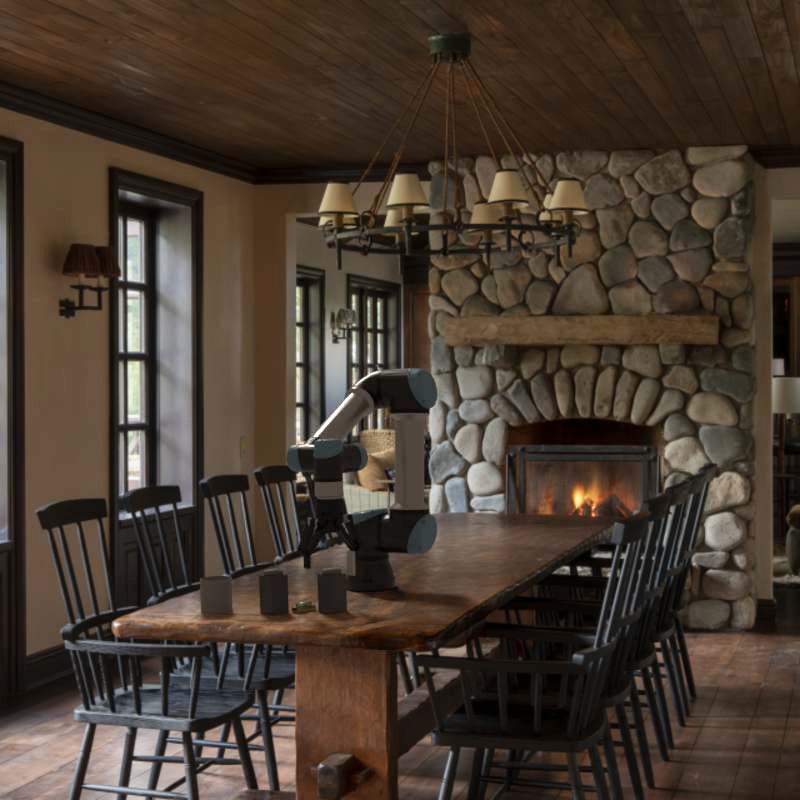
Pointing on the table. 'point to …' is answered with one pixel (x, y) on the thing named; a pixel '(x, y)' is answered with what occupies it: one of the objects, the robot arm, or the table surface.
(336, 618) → the table surface
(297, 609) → the bubble vial
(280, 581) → the knob
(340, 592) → the knob
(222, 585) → the cup
